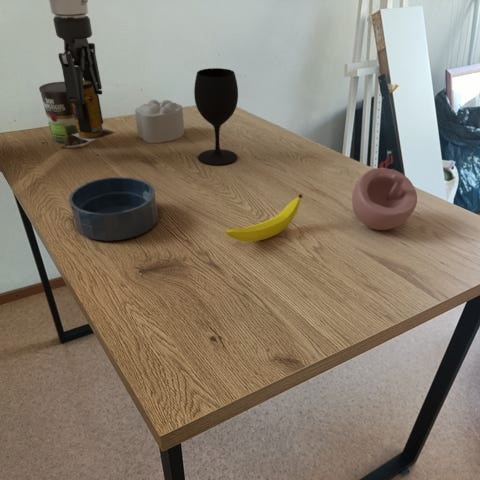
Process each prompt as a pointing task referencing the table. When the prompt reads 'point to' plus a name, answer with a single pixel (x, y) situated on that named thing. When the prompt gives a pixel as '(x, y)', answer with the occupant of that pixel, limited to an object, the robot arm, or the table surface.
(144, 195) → the bowl
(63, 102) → the coffee can
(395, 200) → the mortar and pestle
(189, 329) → the table surface
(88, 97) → the condiment
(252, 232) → the banana
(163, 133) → the lumpy-topped squat cylinder
